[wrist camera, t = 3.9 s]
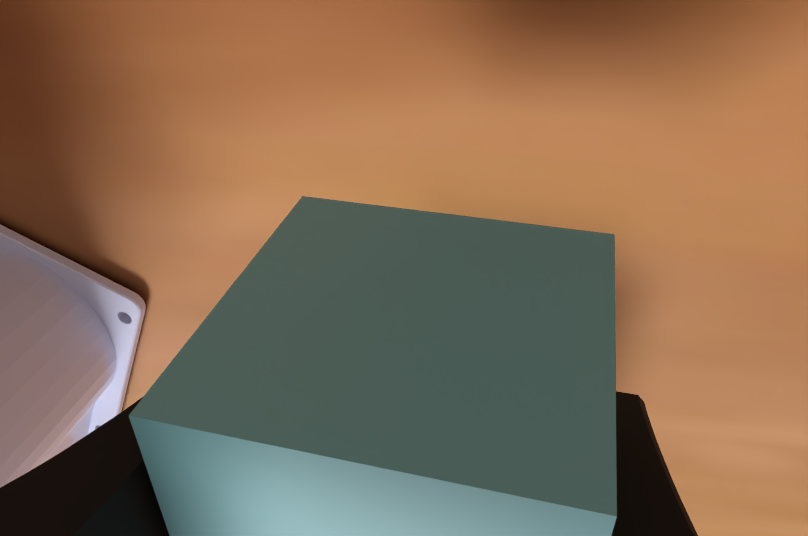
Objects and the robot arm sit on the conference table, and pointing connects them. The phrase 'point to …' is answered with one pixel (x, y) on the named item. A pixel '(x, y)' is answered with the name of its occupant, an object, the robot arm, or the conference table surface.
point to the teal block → (395, 384)
